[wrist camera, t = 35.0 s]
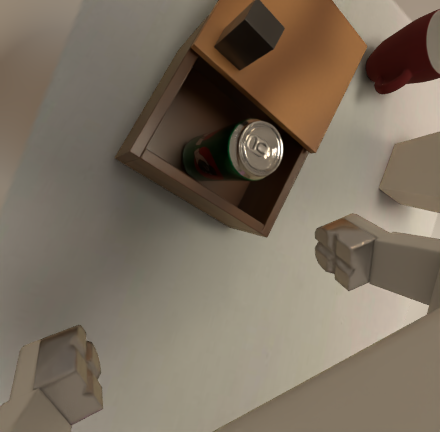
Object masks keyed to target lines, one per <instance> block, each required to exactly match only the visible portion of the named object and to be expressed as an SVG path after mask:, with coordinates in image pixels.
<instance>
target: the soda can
mask: <svg viewBox="0 0 440 432" xmlns="http://www.w3.org/2000/svg"><path fill="white" fill-rule="evenodd" d="M282 156H283V142H282V139H281V136H280V134H279V132H278V131H277V129H276V128H275V127H274V126H272V125H271V124H269V123H267V122H264V121H261V120H259V119H246V120H243V121H240V122H237V123H234V124H232V125H229V126H226V127H223V128H220V129H217V130H214V131H211V132H208V133H205V134H203V135H200V136H197V137H194V138H193V139H191V140H190V141H189V142H188V143H187V144H186V146H185V148H184V151H183V164H184V167H185V169H186V171H187V172H188V174H189V175H190V176H191V177H193V178H194V179H196V180H199V181H257V180H261V179H264V178H265V177H267V176H268V175H269V174H270V173H272V172H273V171H275V170H276V169H277V167H278V166H279V164H280V162H281V160H282Z"/></svg>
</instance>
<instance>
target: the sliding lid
mask: <svg viewBox="0 0 440 432" xmlns="http://www.w3.org/2000/svg"><path fill="white" fill-rule="evenodd" d="M191 48H192V49H193V50H194V51H195V52H196V53H197V54H198V55H200V56H201V57H202V58H203V59H204V60H205V61H206V62H207V63H209V64H210V65H211V66H212V67H213V68H214V69H215V70H217V71H218V72H219V73H220V74H221V75H222V76H223V77H224V78H226V79H227V80H228V81H229V82H230V83H231V84H232V85H234V86H235V87H236V88H237V89H238V90H239V91H240V92H241V93H243V94H244V95H245V96H246V97H247V98H248V99H249V100H251V101H252V102H253V103H254V104H255V105H256V106H257V107H258V108H260V109H261V110H262V111H263V112H264V113H265V114H266V115H268V116H269V117H270V118H271V119H272V120H273V121H274V122H275V123H277V124H278V125H279V126H280V127H281V128H282V129H283V130H285V131H286V132H287V133H288V134H289V135H290V136H291V137H292V138H294V139H295V140H296V141H297V142H298V143H299V144H300V145H302V146H303V147H304V148H305V149H306V150H307V151H308V152H309V153H316V151H317V149H318V147H319V145H320V143H321V141H322V139H323V137H324V135H325V133H326V131H327V129H328V127H329V125H330V122H331V120H332V118H333V116H334V114H335V112H336V110H337V108H338V106H339V104H340V102H341V100H342V98H343V96H344V94H345V92H346V90H347V87H348V85H349V83H350V81H351V79H352V77H353V75H354V73H355V71H356V69H357V67H358V65H359V63H360V61H361V59H362V57H363V55H364V53H365V50H366V48H367V45H366V44H365V43H364V41H363V40H362V39H361V37H360V36H359V35H358V33H357V32H356V31H355V30H354V28H353V27H352V26H351V24H350V23H349V22H348V20H347V19H346V18H345V17H344V15H343V14H342V13H341V11H340V10H339V9H338V7H337V6H336V5H335V4H334V2H333V1H332V0H218V1H217V3H216V5H215V6H214V8H213V10H212V11H211V13H210V15H209V17H208V18H207V20H206V22H205V23H204V25H203V27H202V28H201V30H200V32H199V34H198V35H197V37H196V39H195V40H194V42H193V44H192V46H191Z"/></svg>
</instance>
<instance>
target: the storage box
mask: <svg viewBox="0 0 440 432" xmlns="http://www.w3.org/2000/svg"><path fill="white" fill-rule="evenodd" d="M208 17H209V15H208V16H207V18H208ZM207 18H206V19H205V20H204V21H203V22H202V23H201V25H200V26H199V27H198V28H197V29H196V30H195V31H194V33H193V34H192V35H191V36H190V37H189V38H188V40H187V41H186V42H185V43H184V44H183V45H182V46H181V48H180V49H179V50H178V51H177V53H176V55H175V57H174V58H173V60H172V62H171V63H170V65H169V67H168V68H167V70H166V72H165V73H164V75H163V77H162V79H161V80H160V82H159V84H158V85H157V87H156V89H155V90H154V92H153V94H152V95H151V97H150V99H149V101H148V102H147V104H146V106H145V107H144V109H143V111H142V112H141V114H140V116H139V117H138V119H137V121H136V123H135V124H134V126H133V128H132V129H131V131H130V133H129V134H128V136H127V138H126V139H125V141H124V143H123V144H122V146H121V148H120V150H119V151H118V153H117V155H116V156H115V159H116V160H118V161H120V162H121V163H123V164H125V165H126V166H128V167H130V168H131V169H133V170H135V171H136V172H138V173H140V174H141V175H143V176H145V177H146V178H148V179H150V180H151V181H153V182H155V183H156V184H158V185H160V186H161V187H163V188H165V189H166V190H168V191H170V192H171V193H173V194H175V195H176V196H178V197H180V198H181V199H183V200H185V201H186V202H188V203H190V204H191V205H193V206H195V207H196V208H198V209H200V210H201V211H203V212H205V213H206V214H208V215H210V216H211V217H213V218H215V219H216V220H218V221H220V222H221V223H223V224H225V225H226V226H228V227H230V228H234V229H237V230H241V231H244V232H248V233H252V234H256V235H259V236H263V237H268V235H269V233H270V231H271V229H272V227H273V225H274V223H275V221H276V219H277V216H278V214H279V212H280V210H281V208H282V206H283V204H284V202H285V200H286V198H287V196H288V194H289V192H290V190H291V188H292V186H293V184H294V182H295V180H296V178H297V176H298V174H299V172H300V170H301V167H302V165H303V163H304V161H305V159H306V157H307V155H308V153H309V152H308V151H307V150H306V149H305V148H304V147H303V146H302V145H300V144H299V143H298V142H297V141H296V140H295V139H294V138H292V137H291V136H290V135H289V134H288V133H287V132H286V131H285V130H283V129H282V128H281V127H280V126H279V125H278V124H277V123H275V122H274V121H273V120H272V119H271V118H270V117H269V116H268V115H266V114H265V113H264V112H263V111H262V110H261V109H260V108H258V107H257V106H256V105H255V104H254V103H253V102H252V101H251V100H249V99H248V98H247V97H246V96H245V95H244V94H243V93H241V92H240V91H239V90H238V89H237V88H236V87H235V86H234V85H232V84H231V83H230V82H229V81H228V80H227V79H226V78H224V77H223V76H222V75H221V74H220V73H219V72H218V71H217V70H215V69H214V68H213V67H212V66H211V65H210V64H209V63H207V62H206V61H205V60H204V59H203V58H202V57H201V56H200V55H198V54H197V53H196V52H195V51H194V50H193V49H192V48H191V46H192V44H193V42H194V40H195V39H196V37H197V35H198V34H199V32H200V30H201V28H202V27H203V25H204V23H205V22H206V20H207ZM246 119H259V120H261V121H264V122H267V123H269V124H271V125H272V126H274V127H275V128H276V129H277V131H278V132H279V134H280V136H281V139H282V142H283V156H282V160H281V162H280V164H279V166H278V167H277V169H276V170H275V171H273V172H272V173H270V174H269V175H268V176H267V177H265V178H264V179H261V180H257V181H199V180H196V179H194V178H193V177H191V176H190V175H189V174H188V172H187V171H186V169H185V167H184V164H183V151H184V148H185V146H186V144H187V143H188V142H189V141H190V140H191V139H193V138H194V137H197V136H200V135H203V134H205V133H208V132H211V131H214V130H217V129H220V128H223V127H226V126H229V125H232V124H234V123H237V122H240V121H243V120H246Z"/></svg>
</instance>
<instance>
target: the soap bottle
mask: <svg viewBox="0 0 440 432" xmlns="http://www.w3.org/2000/svg"><path fill="white" fill-rule="evenodd" d="M379 189H380V190H382V191H383V192H384V193H386V194H387V195H388V196H390V197H391V198H392V199H394V200H395V201H397V202H398V203H399V204H402V205H406V206H411V207H415V208H419V209H424V210H428V211H433V212H437V213H440V132H436V133H433V134H429V135H426V136H422V137H418V138H415V139H411V140H408V141H404V142H400V143H397V144H395V145H394V148H393V151H392V154H391V156H390V159H389V162H388V165H387V167H386V170H385V173H384V176H383V178H382V181H381V184H380V187H379Z"/></svg>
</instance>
